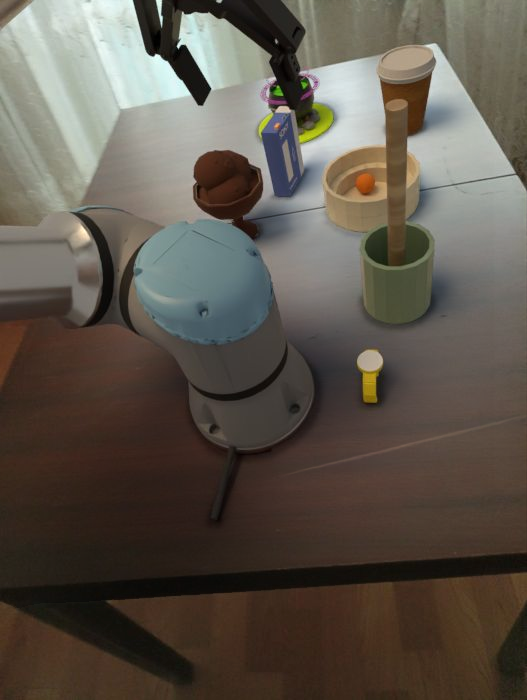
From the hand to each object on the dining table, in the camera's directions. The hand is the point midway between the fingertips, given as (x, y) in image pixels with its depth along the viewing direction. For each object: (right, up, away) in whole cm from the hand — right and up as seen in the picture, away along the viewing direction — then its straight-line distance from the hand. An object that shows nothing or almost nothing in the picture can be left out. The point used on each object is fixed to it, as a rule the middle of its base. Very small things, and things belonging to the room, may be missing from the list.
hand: (248, 99), depth 60 cm
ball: (+18, -4, +19) cm, 26 cm away
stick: (+19, -24, +5) cm, 31 cm away
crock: (+19, -24, +5) cm, 31 cm away
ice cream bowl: (-2, -11, +21) cm, 24 cm away
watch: (+15, -35, -2) cm, 38 cm away
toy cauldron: (+8, +14, +39) cm, 42 cm away
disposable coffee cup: (+28, +10, +30) cm, 42 cm away
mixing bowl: (+19, -8, +18) cm, 27 cm away
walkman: (+6, -1, +27) cm, 28 cm away
